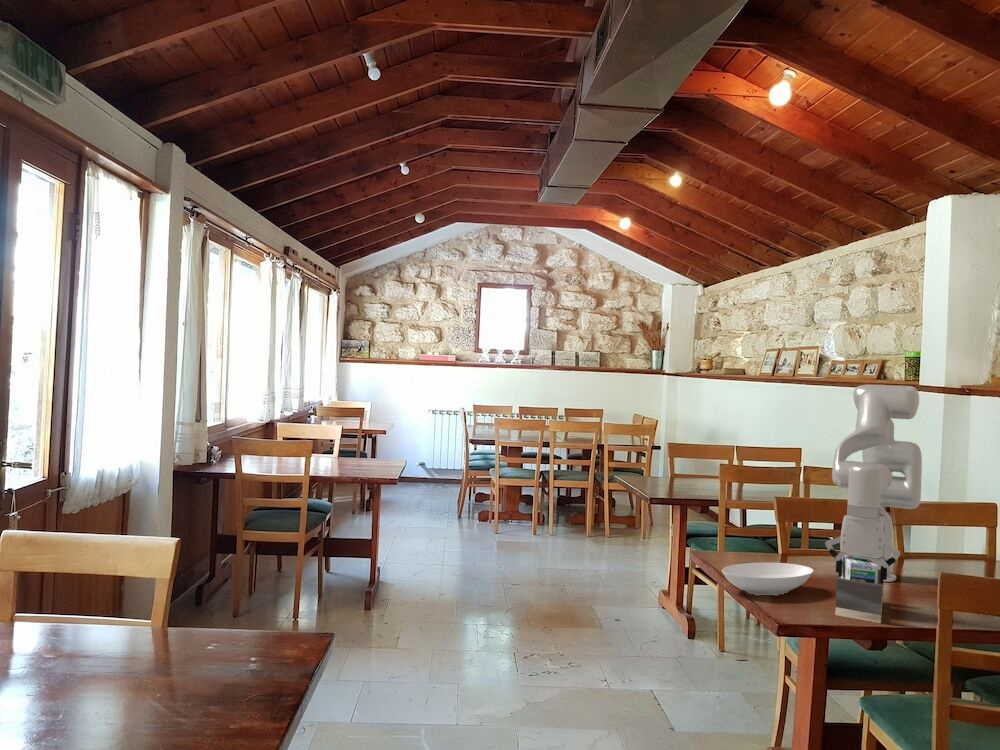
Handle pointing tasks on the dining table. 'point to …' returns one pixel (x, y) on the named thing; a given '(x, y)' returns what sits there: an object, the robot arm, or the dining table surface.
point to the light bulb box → (859, 569)
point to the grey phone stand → (859, 599)
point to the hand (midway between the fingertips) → (860, 578)
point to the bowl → (767, 577)
